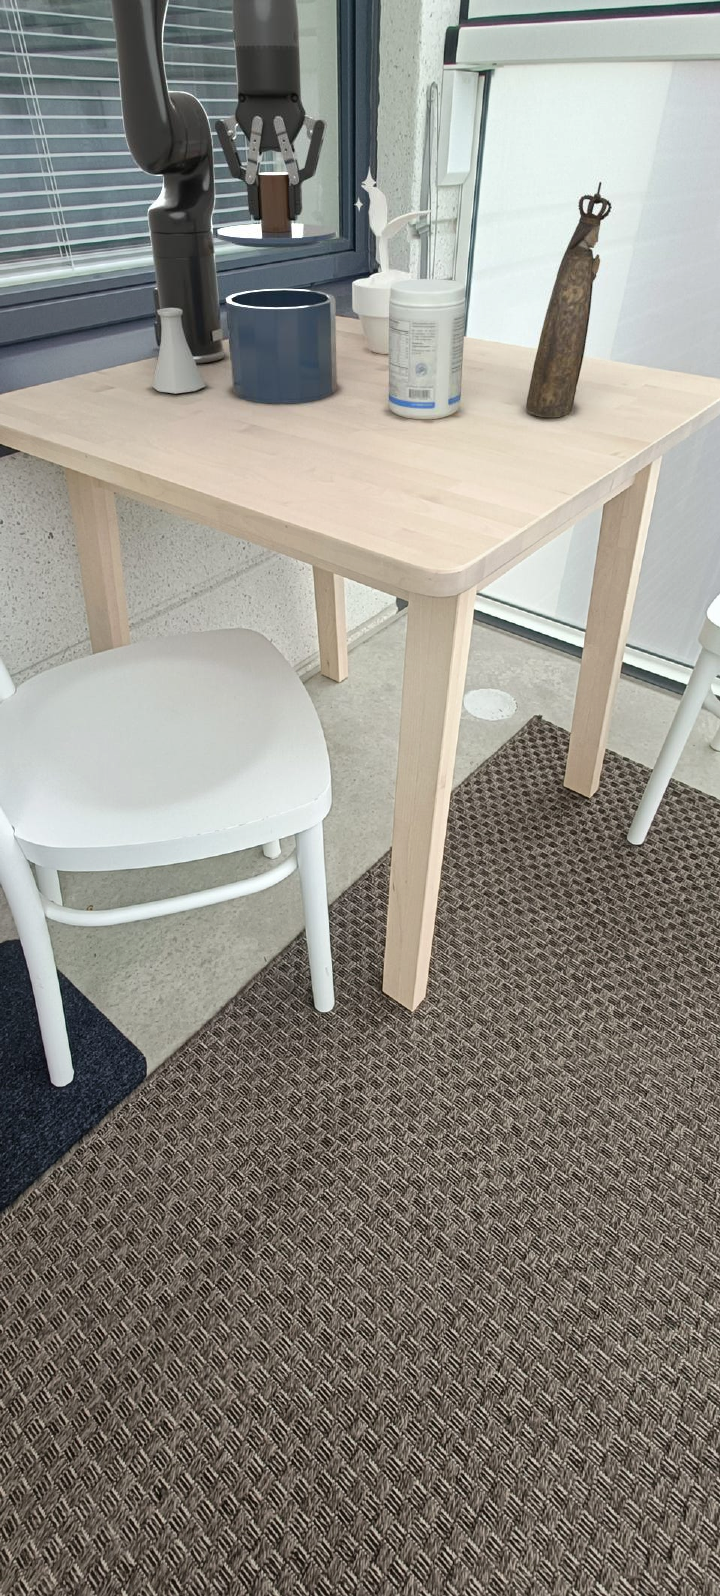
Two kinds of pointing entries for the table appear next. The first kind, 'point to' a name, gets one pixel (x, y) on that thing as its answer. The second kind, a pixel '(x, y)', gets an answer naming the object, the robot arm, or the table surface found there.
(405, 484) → the table surface
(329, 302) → the canister
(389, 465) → the table surface
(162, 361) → the flask
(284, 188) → the lid
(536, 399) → the statue
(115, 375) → the table surface
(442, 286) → the supplement tub
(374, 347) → the potted plant
